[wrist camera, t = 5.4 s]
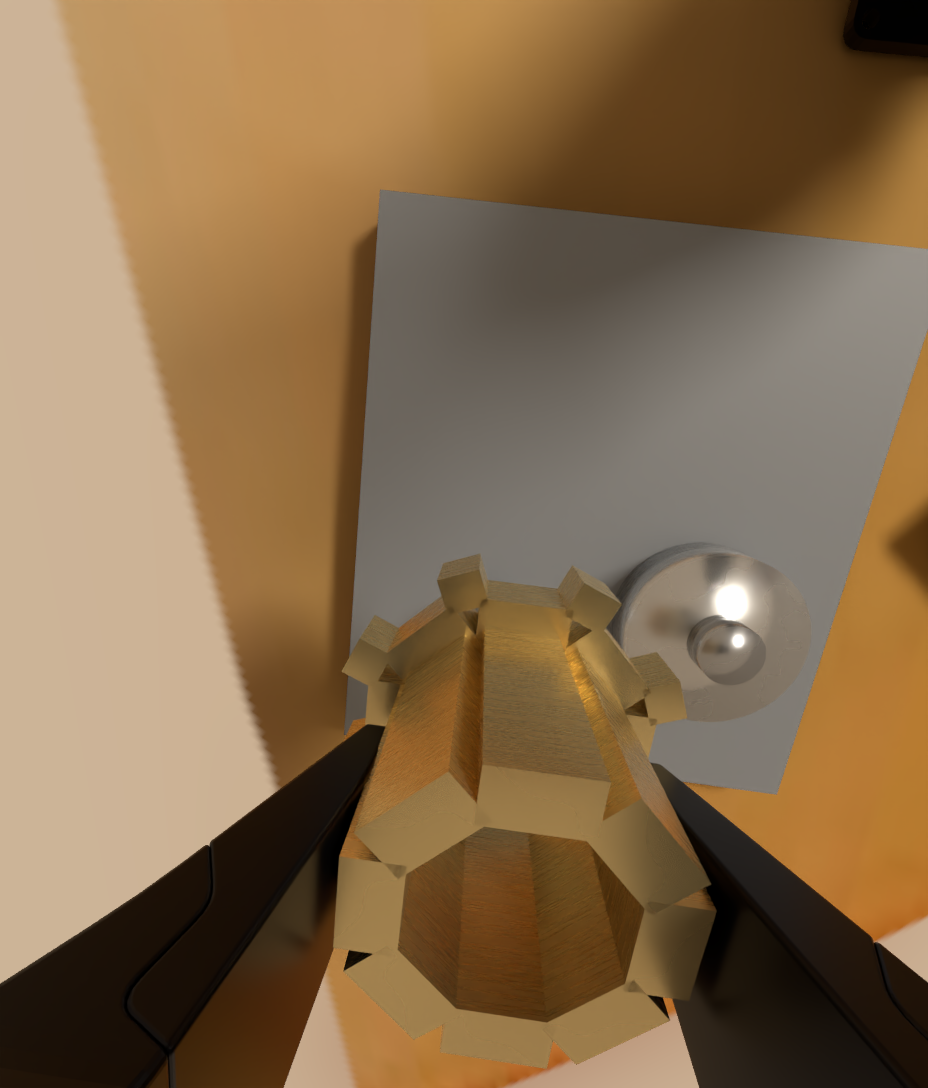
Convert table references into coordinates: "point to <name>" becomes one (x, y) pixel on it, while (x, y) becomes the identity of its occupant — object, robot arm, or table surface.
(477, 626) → the planet gear
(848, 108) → the table surface
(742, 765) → the carrier plate
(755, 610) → the chrome knob cap
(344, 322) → the table surface
